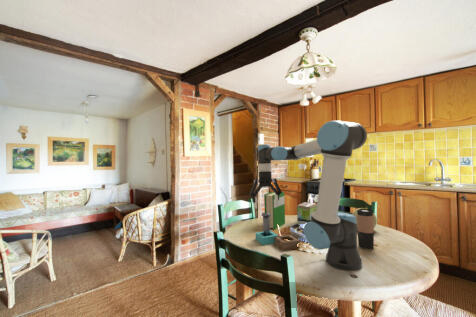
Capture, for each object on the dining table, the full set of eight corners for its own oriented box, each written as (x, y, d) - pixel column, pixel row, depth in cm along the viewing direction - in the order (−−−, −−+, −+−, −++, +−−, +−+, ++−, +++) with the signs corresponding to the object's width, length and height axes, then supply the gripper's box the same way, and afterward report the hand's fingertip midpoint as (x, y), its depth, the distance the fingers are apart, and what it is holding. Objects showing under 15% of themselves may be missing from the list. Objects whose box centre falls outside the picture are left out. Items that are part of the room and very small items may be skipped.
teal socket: (278, 244, 128) (278, 235, 128) (262, 246, 125) (262, 238, 125) (270, 238, 137) (270, 230, 137) (255, 240, 134) (255, 232, 134)
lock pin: (272, 241, 129) (272, 213, 129) (264, 243, 128) (264, 214, 128) (268, 238, 134) (268, 212, 134) (260, 239, 133) (260, 212, 133)
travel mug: (376, 250, 117) (375, 211, 117) (360, 249, 118) (359, 211, 118) (370, 244, 124) (370, 208, 124) (356, 243, 126) (355, 208, 126)
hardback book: (274, 229, 154) (273, 195, 154) (265, 228, 158) (264, 194, 158) (285, 223, 168) (284, 191, 168) (276, 222, 172) (275, 191, 172)
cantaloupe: (348, 230, 149) (347, 207, 149) (356, 225, 158) (355, 204, 158) (372, 235, 138) (372, 211, 138) (380, 230, 147) (379, 207, 147)
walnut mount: (300, 249, 120) (299, 240, 120) (283, 252, 116) (283, 243, 116) (290, 243, 129) (289, 234, 129) (274, 245, 126) (274, 236, 126)
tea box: (310, 227, 157) (310, 206, 157) (297, 225, 163) (296, 205, 163) (317, 222, 169) (316, 202, 169) (304, 220, 175) (303, 201, 175)
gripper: (280, 169, 138) (281, 203, 138) (242, 171, 131) (244, 207, 130) (286, 170, 131) (288, 206, 131) (247, 172, 123) (248, 210, 123)
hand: (266, 207), depth 131 cm, fingers open, 13 cm apart
